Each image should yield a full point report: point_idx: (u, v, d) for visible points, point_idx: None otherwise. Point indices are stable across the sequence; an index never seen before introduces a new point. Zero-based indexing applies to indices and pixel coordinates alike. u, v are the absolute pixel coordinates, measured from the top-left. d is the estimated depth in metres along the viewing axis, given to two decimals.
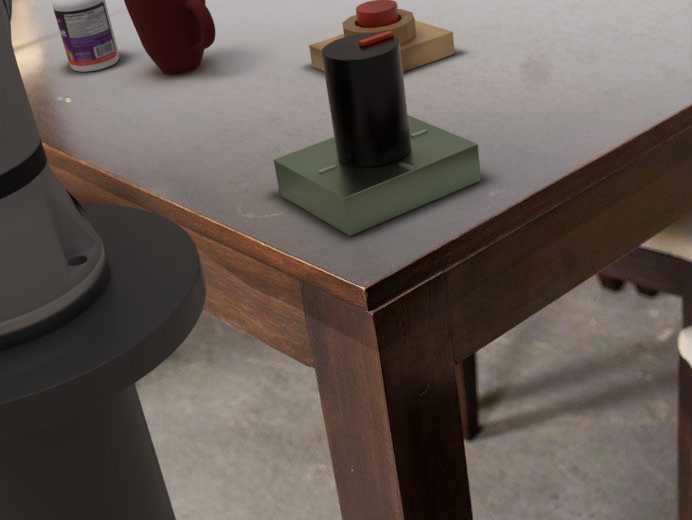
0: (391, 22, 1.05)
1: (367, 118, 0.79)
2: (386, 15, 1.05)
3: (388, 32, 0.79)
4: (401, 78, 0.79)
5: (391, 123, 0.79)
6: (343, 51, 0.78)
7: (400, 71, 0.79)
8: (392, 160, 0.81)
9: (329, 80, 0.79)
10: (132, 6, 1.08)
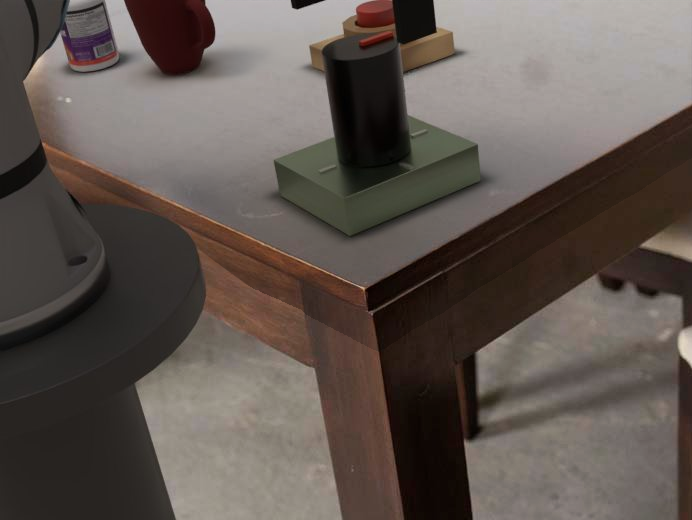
0: (391, 22, 1.05)
1: (367, 118, 0.79)
2: (386, 15, 1.05)
3: (388, 32, 0.79)
4: (401, 78, 0.79)
5: (391, 123, 0.79)
6: (343, 51, 0.78)
7: (400, 71, 0.79)
8: (392, 160, 0.81)
9: (329, 80, 0.79)
10: (132, 6, 1.08)
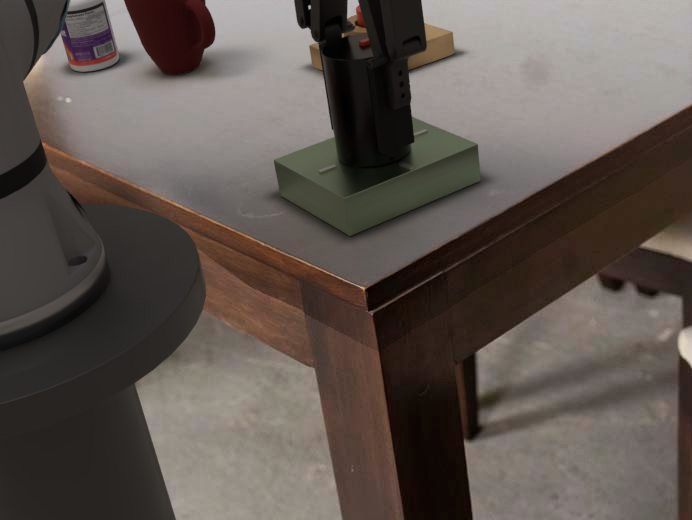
0: None
1: (367, 118, 0.79)
2: None
3: None
4: None
5: None
6: (343, 51, 0.78)
7: None
8: (392, 160, 0.81)
9: (329, 80, 0.79)
10: (132, 6, 1.08)
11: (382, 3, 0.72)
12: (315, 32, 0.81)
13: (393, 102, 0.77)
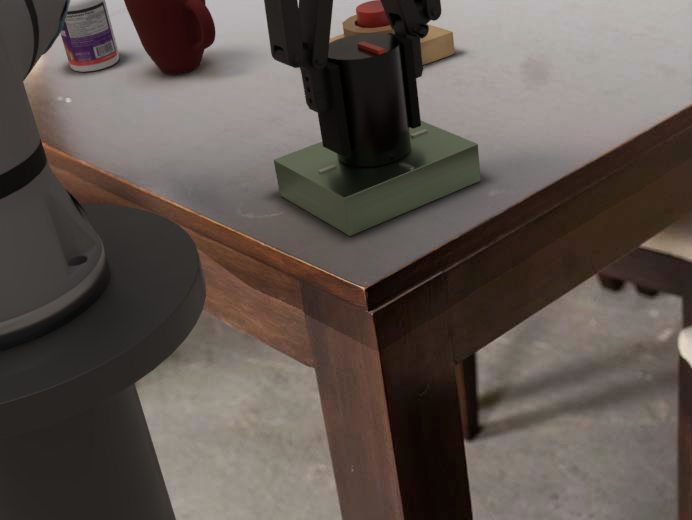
0: None
1: None
2: None
3: (379, 49, 0.77)
4: (352, 93, 0.78)
5: None
6: (349, 42, 0.80)
7: (351, 86, 0.78)
8: (341, 160, 0.82)
9: None
10: (132, 6, 1.08)
11: None
12: None
13: None
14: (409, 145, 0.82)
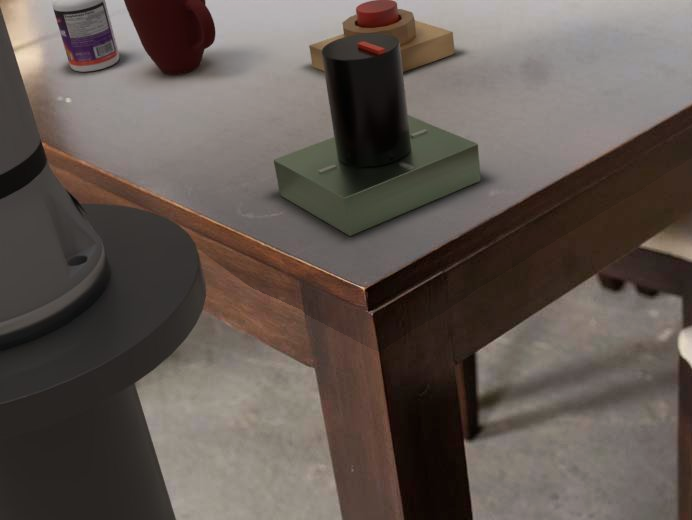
0: (391, 22, 1.05)
1: None
2: (386, 15, 1.05)
3: (379, 49, 0.77)
4: (352, 93, 0.78)
5: (338, 126, 0.80)
6: (349, 42, 0.80)
7: (351, 86, 0.78)
8: (341, 160, 0.82)
9: None
10: (132, 6, 1.08)
11: None
12: None
13: None
14: (409, 145, 0.82)
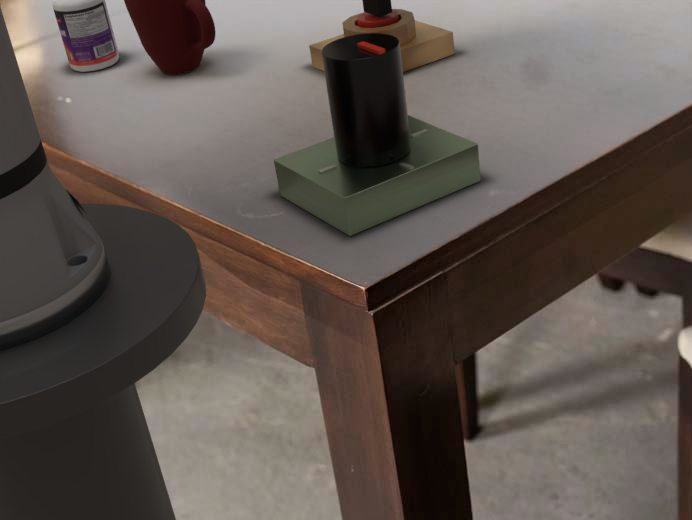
0: None
1: None
2: (387, 24, 1.05)
3: (379, 49, 0.77)
4: (352, 93, 0.78)
5: (338, 126, 0.80)
6: (349, 42, 0.80)
7: (351, 86, 0.78)
8: (341, 160, 0.82)
9: None
10: (132, 6, 1.08)
11: None
12: None
13: None
14: (409, 145, 0.82)
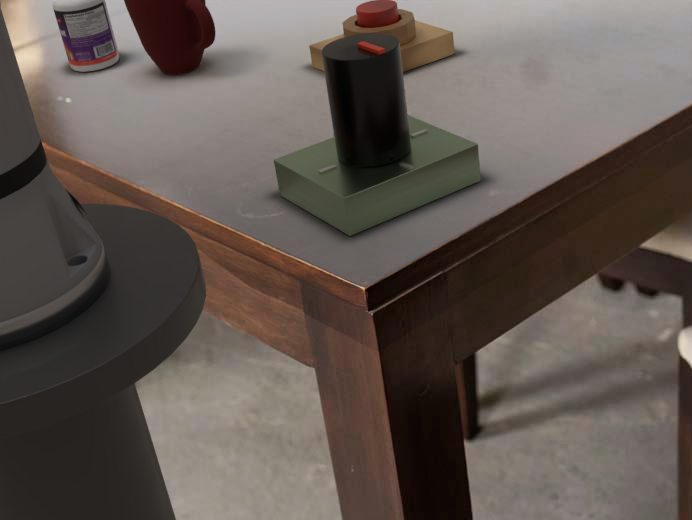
0: (391, 22, 1.05)
1: None
2: (386, 15, 1.05)
3: (379, 49, 0.77)
4: (352, 93, 0.78)
5: (338, 126, 0.80)
6: (349, 42, 0.80)
7: (351, 86, 0.78)
8: (341, 160, 0.82)
9: None
10: (132, 6, 1.08)
11: None
12: None
13: None
14: (409, 145, 0.82)
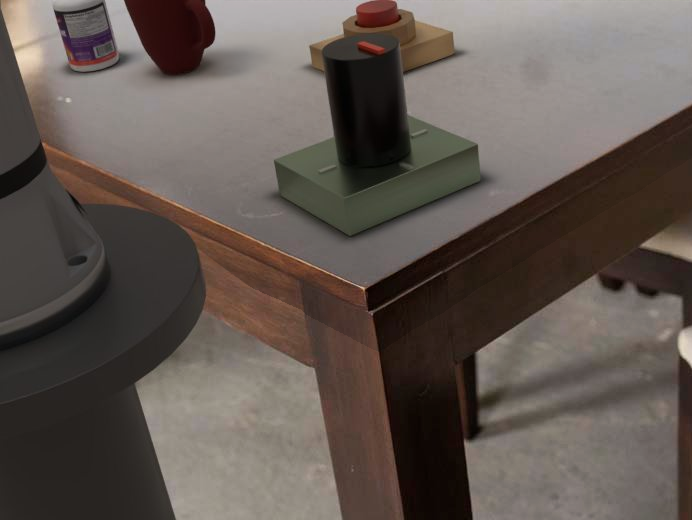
0: (391, 22, 1.05)
1: None
2: (386, 15, 1.05)
3: (379, 49, 0.77)
4: (352, 93, 0.78)
5: (338, 126, 0.80)
6: (349, 42, 0.80)
7: (351, 86, 0.78)
8: (341, 160, 0.82)
9: None
10: (132, 6, 1.08)
11: None
12: None
13: None
14: (409, 145, 0.82)
